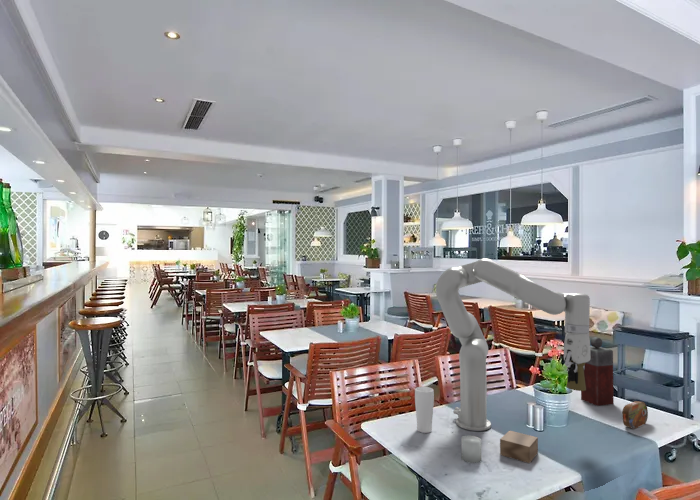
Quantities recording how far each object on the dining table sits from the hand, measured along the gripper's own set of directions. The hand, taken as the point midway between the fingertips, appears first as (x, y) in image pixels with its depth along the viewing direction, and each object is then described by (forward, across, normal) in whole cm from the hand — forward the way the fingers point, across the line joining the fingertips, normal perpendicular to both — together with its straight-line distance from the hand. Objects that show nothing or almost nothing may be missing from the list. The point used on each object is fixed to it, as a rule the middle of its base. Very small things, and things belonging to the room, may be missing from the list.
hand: (575, 381), depth 149 cm
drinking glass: (+22, -36, +36) cm, 56 cm away
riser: (+21, -25, +5) cm, 33 cm away
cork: (+3, 0, 0) cm, 3 cm away
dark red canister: (+20, +49, +15) cm, 55 cm away
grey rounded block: (+21, -40, +12) cm, 47 cm away
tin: (+20, +32, -7) cm, 38 cm away
